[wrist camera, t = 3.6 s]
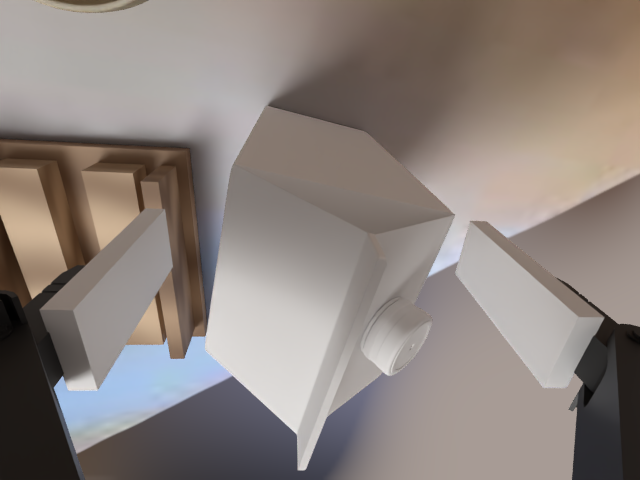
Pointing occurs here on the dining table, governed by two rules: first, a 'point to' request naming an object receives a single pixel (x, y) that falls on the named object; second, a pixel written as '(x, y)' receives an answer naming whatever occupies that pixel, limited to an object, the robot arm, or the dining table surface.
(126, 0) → the flower pot
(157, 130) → the dining table surface
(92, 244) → the display stand
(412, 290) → the milk carton
